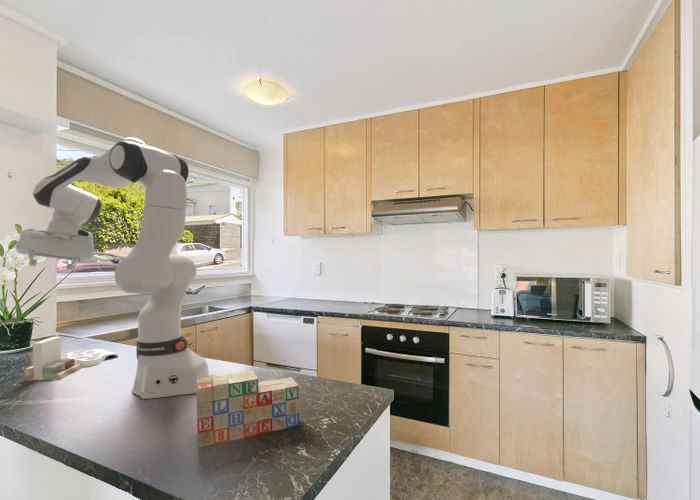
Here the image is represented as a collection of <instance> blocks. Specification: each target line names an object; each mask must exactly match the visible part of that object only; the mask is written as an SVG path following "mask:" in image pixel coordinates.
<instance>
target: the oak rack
mask: <svg viewBox="0 0 700 500" xmlns="http://www.w3.org/2000/svg"><path fill="white" fill-rule="evenodd" d="M81 369H83V367H82V364H77V365H75V366H73V367H71V368H69V369H67V370H65V371H62V372H60V373H58V374H57V378H54V379H44V378H43V379H34V364H33V365H31V366H29V367H26V368H25V369H24V381H29V382H30V381H48V380H51V381H52V380H61V379H63V378H65V377H67V376H69V375H71V374H73V373H75V372H78V371H79V370H81Z"/></svg>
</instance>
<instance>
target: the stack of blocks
mask: <svg viewBox="0 0 700 500" xmlns="http://www.w3.org/2000/svg"><path fill="white" fill-rule="evenodd" d="M299 387H300V386H299V384H298V383H297V382H296V381H295V380H294V378H293V377H292V376H291V377H284V378H279V379H278V378H277V379H271V380H265V381H260V382H259V378H258V376H257V374H256V373H255V370H248V371H240V372H235V373H233V372H232V373H228V374H222V375H217V376H215V377H207V378H200V379H197V393H196V417H197V418H196V419H197V421H196V422H197V426H196V427H197V448H202V447H207V446H210V445H211V446H212V445H217V444H222V443H227V442H232V441H236V440H241V439H245V438H248V437H252V436H257V435H262V434H266V433H271V432H276V431H282V430H286V429H290V428H295V427H298V426H300V398H299V397H300V395H299Z"/></svg>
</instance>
